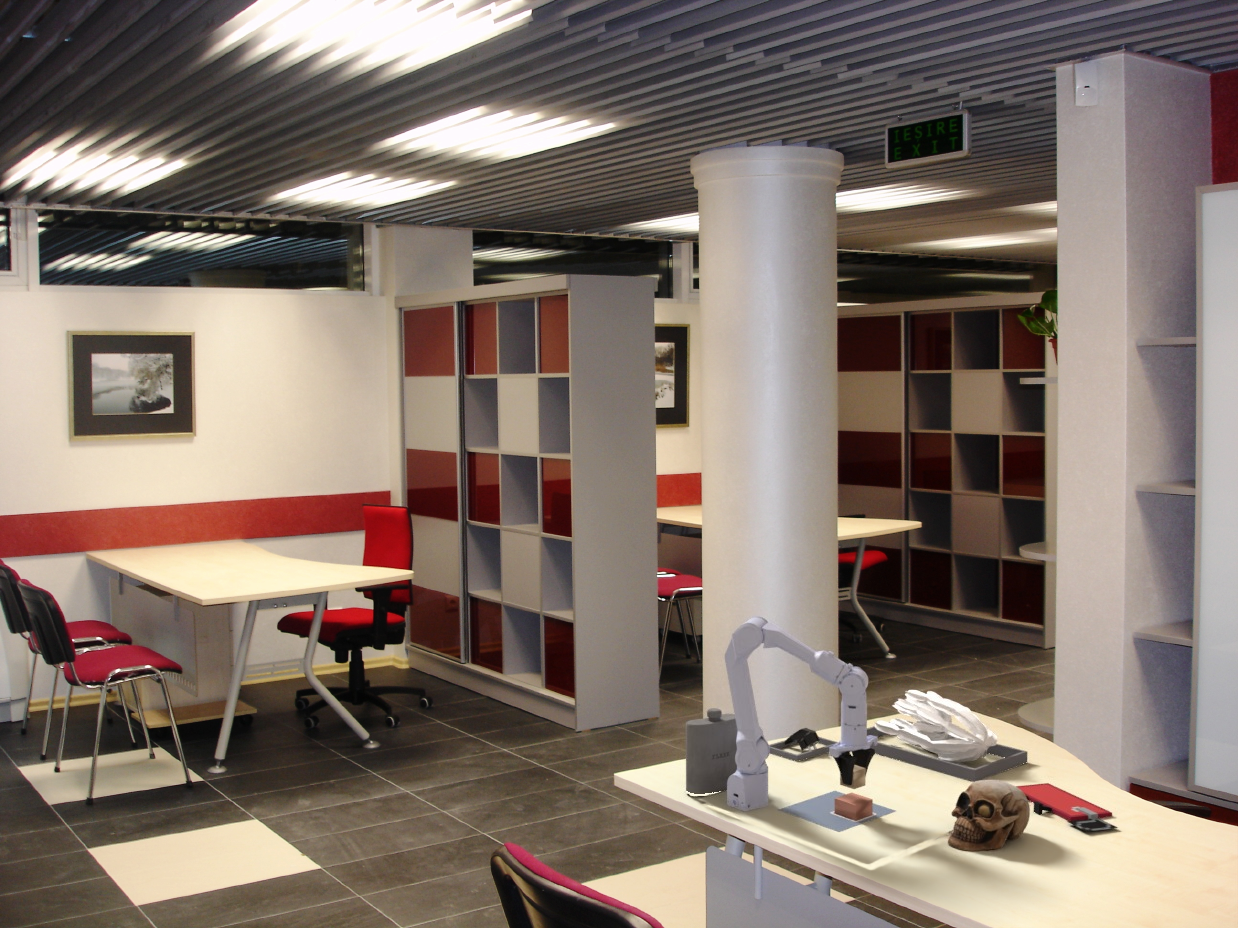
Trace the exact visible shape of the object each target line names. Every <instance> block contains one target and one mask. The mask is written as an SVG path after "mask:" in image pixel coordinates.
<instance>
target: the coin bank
mask: <svg viewBox="0 0 1238 928" xmlns="http://www.w3.org/2000/svg"><path fill="white" fill-rule="evenodd" d="M1030 814H1031V808H1030V803H1029V801H1028V800H1027V798H1026V796H1025V794H1024V793H1023V792H1022V791H1021V790H1020V789H1019V788H1018V787H1016V786H1015V785H1013V784H1011V783H1009V782H1006V781H1002V780H1000V779H999V780H998V779H982V780H979V781H975V782H971V784H970V785H969V786H968V787H967V788H966V790H964V791H961V793H960V794H959V796H958V798H957V800H956V803H955V808H954V809H953V810H952V811H951V816H952V817H955V818H956V820H955V821H954V825H953V828H952V829H953V831H952V832H951V834H950V836H949V837H948V840H947V845H948V846H950V847H952V848H954V849H957V850H963V851H967V852H969V851H970V852H974V851H975V852H977V851H978V852H979V851H983V850H984V851H989V850H1000V849H1002V848H1003V846H1004V845H1005V843H1006V841H1009V840H1016V839H1018V838H1019V837H1020V836H1021V835H1022V834H1023V833H1024V832H1025V830H1026V829H1027V826H1028V823H1029V821H1030Z"/></svg>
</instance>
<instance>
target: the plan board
mask: <svg viewBox="0 0 1238 928" xmlns="http://www.w3.org/2000/svg"><path fill="white" fill-rule="evenodd" d="M846 794H847V793H844V792H841V791H837V790H833V791H830V792H826V793H824V794H821V795H818V796H815V797H812V798H809V799H806V800H803V801H800V802H799V801H798V802H797V803H793V804H791V805H787V806H785V807H780V808H779V809H777V811H780V812H783V813H785V814H788V815H790V816H794V817H797V818H799V819H802V820H804V821H807V822H811V823H813V824H815V825H819V826H820V827H824V828H827V829H828V830H829V829H830V830H833V831H835V832H837V833H841V832H843V831H846V830H848V829H851V828H854V827H856V826H859V825H862V824H864V823H865V824H866V823H867V822H870V821H873V820H876V819H878V818H881V817H885V816H887V815H889V814H892V813H895V812H896V810H895V809H892V808H888V807H886V806H884V805H879V804H876V803H874V802H873V815H870V816H867V817H864V818H862V819H859V820H856V821H855V820H852V819H849V818H846V817H843V816H840V815H838V814H835V798H837V797H840V796H843V795H846Z"/></svg>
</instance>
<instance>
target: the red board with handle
mask: <svg viewBox="0 0 1238 928" xmlns="http://www.w3.org/2000/svg"><path fill="white" fill-rule="evenodd" d="M1016 787H1018V788H1019V789H1020V790H1021V791H1022V792H1023V793H1024V794H1025V796H1026V798H1027V800H1029V801H1028V802H1030V801H1031V802H1030V803H1032V802H1033V803H1032V804H1033V813H1034V812H1035V813H1034V814H1036V815H1038V816H1042V815H1043V811H1045V812H1049V813H1052V814H1055V815H1056V816H1059V817H1060V818H1063V819H1064V820H1068V821H1066V823H1068V824H1070V825H1072V826H1075V827H1076V828H1079V829H1081V830H1083V831H1084V832H1093V831H1102V830H1109V829H1111V830H1112V829H1118V828H1119V827H1118V826H1117V825H1116V826H1115V825H1114V824H1112V823H1109V822H1107V821H1105V820H1103V819H1102V818H1104V819H1105V818H1111V817H1113V812H1112V811H1109V810H1108V809H1104V808H1103V807H1101V806H1099V805H1096V804H1094V803H1092V802H1090V801H1089V800H1088V801H1087V800H1086V799H1083V798H1082V797H1079V796H1076V795H1075V794H1072V793H1070V792H1068V791H1066V790H1064V789H1061V788H1060V787H1057V786H1056V785H1053V784H1051V783H1048V782H1045V783H1036V784H1026V785H1017V786H1016ZM1041 814H1042V815H1041Z"/></svg>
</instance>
